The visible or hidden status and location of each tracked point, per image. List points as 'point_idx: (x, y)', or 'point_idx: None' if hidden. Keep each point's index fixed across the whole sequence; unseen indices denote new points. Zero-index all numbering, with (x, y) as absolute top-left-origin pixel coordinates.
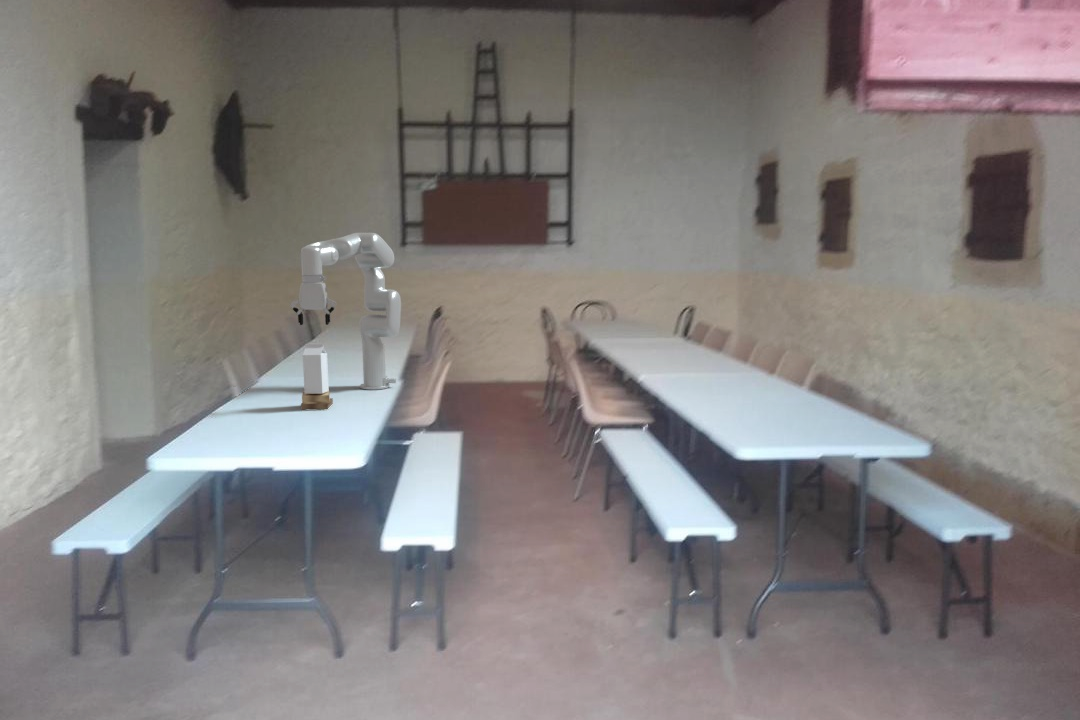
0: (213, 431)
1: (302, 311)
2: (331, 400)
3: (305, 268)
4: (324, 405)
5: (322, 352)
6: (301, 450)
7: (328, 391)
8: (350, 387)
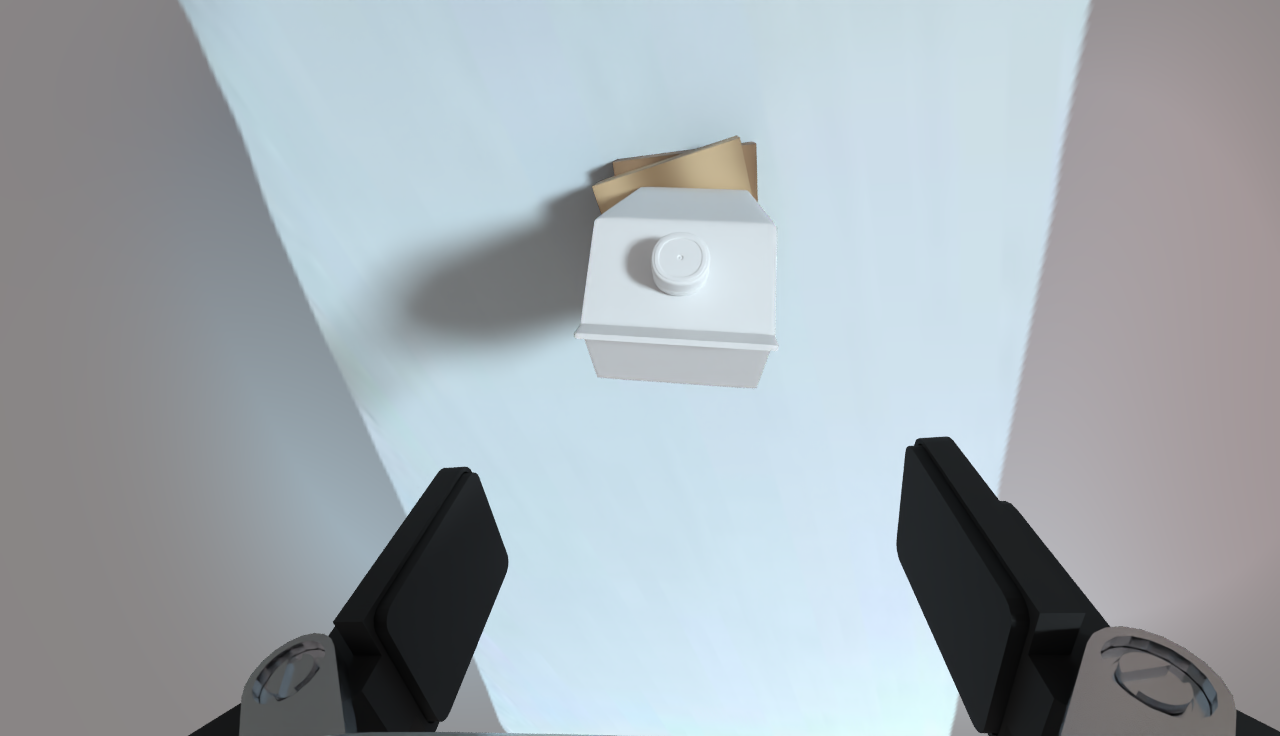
0: None
1: (355, 720)
2: (756, 179)
3: None
4: None
5: (737, 251)
6: (796, 715)
7: (743, 175)
8: None
